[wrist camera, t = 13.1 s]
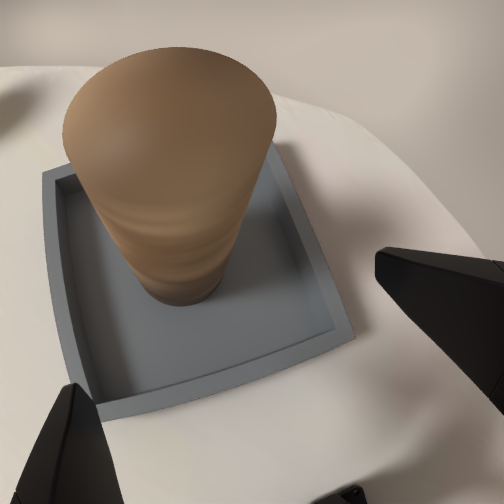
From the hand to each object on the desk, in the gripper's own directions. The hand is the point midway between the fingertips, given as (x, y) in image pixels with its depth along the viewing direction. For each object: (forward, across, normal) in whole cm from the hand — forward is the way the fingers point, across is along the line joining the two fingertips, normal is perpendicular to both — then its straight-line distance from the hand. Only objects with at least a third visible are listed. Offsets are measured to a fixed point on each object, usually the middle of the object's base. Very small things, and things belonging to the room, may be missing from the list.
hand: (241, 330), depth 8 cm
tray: (+12, 0, +4) cm, 13 cm away
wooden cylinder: (+12, 0, +4) cm, 12 cm away
